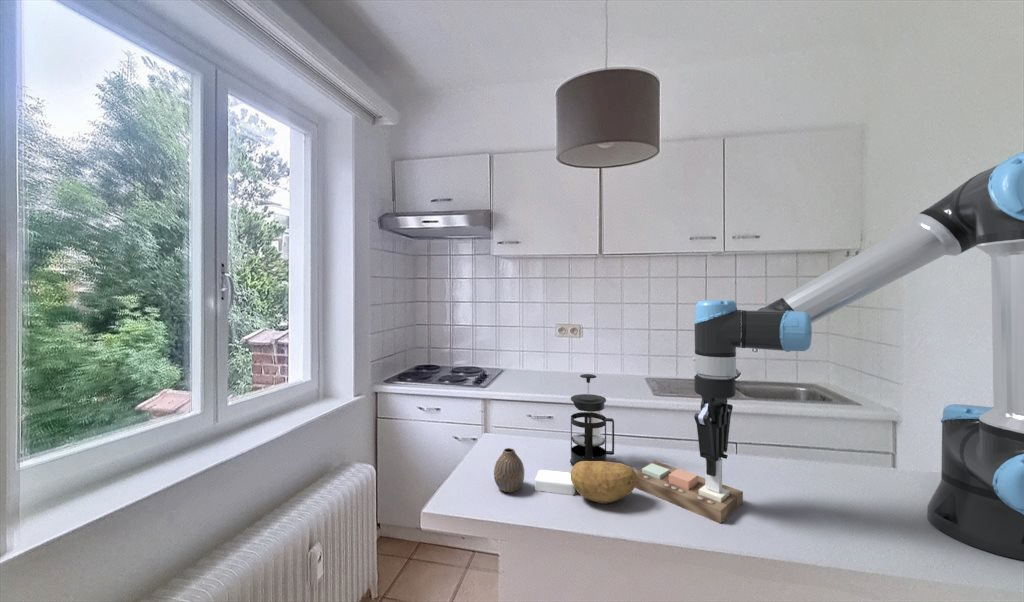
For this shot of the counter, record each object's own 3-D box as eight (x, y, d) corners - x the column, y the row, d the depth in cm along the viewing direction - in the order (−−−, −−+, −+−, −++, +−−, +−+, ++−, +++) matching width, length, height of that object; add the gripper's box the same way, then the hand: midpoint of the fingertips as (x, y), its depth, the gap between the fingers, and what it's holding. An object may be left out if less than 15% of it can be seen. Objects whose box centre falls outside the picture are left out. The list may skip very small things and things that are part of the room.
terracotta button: (697, 488, 87) (698, 475, 86) (688, 495, 84) (688, 481, 84) (678, 481, 90) (678, 468, 90) (668, 487, 87) (668, 474, 87)
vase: (529, 492, 88) (529, 453, 88) (499, 498, 85) (499, 458, 85) (518, 479, 94) (517, 442, 94) (490, 484, 92) (489, 446, 92)
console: (742, 503, 83) (742, 490, 83) (720, 523, 76) (720, 509, 76) (654, 470, 98) (654, 459, 98) (628, 485, 91) (628, 473, 91)
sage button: (669, 482, 92) (669, 469, 91) (659, 488, 89) (659, 475, 89) (652, 475, 95) (652, 463, 95) (641, 481, 92) (641, 468, 92)
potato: (643, 513, 79) (643, 473, 79) (572, 511, 80) (572, 472, 80) (631, 489, 89) (631, 453, 89) (568, 487, 90) (568, 452, 90)
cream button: (729, 505, 82) (729, 490, 82) (720, 512, 79) (720, 498, 79) (707, 496, 85) (707, 482, 85) (698, 504, 82) (698, 489, 82)
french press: (567, 470, 99) (566, 378, 98) (567, 454, 108) (567, 370, 107) (615, 473, 97) (615, 379, 96) (612, 457, 106) (612, 371, 106)
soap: (577, 485, 92) (577, 472, 92) (574, 497, 86) (574, 483, 86) (538, 480, 94) (538, 468, 94) (534, 492, 89) (534, 479, 88)
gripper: (709, 368, 88) (708, 473, 89) (681, 376, 80) (680, 492, 80) (746, 373, 83) (745, 485, 83) (720, 383, 74) (719, 507, 75)
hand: (713, 489), depth 82 cm, fingers closed
